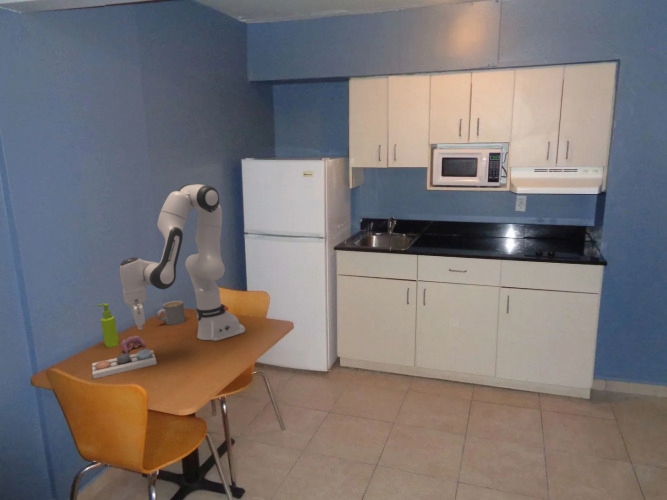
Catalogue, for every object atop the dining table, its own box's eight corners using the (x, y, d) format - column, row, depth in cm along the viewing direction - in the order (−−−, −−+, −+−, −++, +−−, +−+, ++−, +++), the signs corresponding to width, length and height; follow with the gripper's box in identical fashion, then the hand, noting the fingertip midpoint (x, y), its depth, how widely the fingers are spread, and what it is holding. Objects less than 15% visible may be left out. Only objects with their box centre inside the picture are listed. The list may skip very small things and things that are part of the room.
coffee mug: (184, 317, 260) (181, 299, 258) (186, 322, 251) (184, 304, 249) (157, 322, 255) (155, 304, 253) (159, 327, 246) (156, 309, 244)
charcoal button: (130, 359, 205) (129, 352, 204) (131, 363, 201) (130, 356, 200) (117, 361, 203) (116, 355, 202) (118, 366, 198) (117, 359, 198)
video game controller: (143, 348, 224) (137, 334, 225) (147, 346, 221) (141, 332, 222) (122, 356, 217) (117, 341, 217) (126, 353, 214) (121, 339, 214)
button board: (153, 354, 213) (152, 350, 212) (156, 364, 202) (156, 359, 202) (92, 367, 202) (92, 363, 202) (93, 378, 192) (92, 374, 191)
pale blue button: (150, 354, 208) (149, 348, 208) (151, 358, 204) (150, 352, 203) (137, 357, 206) (136, 350, 206) (138, 361, 202) (137, 354, 201)
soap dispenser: (108, 342, 230) (102, 302, 226) (121, 342, 229) (115, 302, 225) (100, 347, 225) (93, 306, 221) (113, 347, 223) (106, 306, 219)
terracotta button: (110, 366, 202) (108, 359, 201) (110, 370, 197) (109, 364, 197) (96, 369, 200) (95, 362, 199) (97, 373, 195) (95, 367, 195)
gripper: (146, 301, 192) (151, 334, 195) (140, 290, 210) (145, 320, 213) (129, 305, 189) (134, 338, 192) (125, 292, 207) (130, 323, 210)
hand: (140, 328), depth 203 cm, fingers closed
